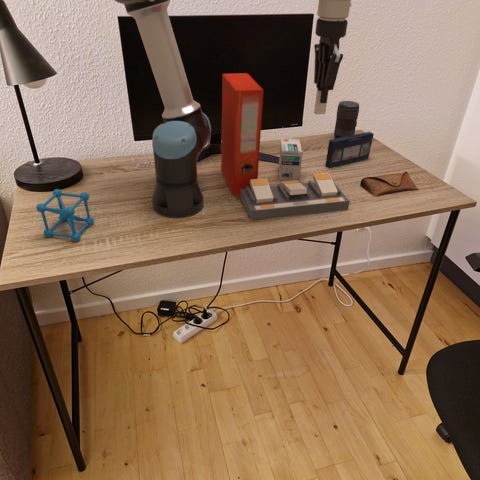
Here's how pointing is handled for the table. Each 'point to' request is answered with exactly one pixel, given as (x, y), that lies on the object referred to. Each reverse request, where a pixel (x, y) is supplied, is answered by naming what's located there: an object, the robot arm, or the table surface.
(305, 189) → the switch middle
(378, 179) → the sunglasses case
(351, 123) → the camera lens
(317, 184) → the switch right
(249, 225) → the table surface
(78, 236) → the molecular structure
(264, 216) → the switch unit
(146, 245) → the table surface
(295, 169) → the light bulb box
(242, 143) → the file binder
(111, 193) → the table surface
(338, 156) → the vhs cassette tape
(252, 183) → the switch left
